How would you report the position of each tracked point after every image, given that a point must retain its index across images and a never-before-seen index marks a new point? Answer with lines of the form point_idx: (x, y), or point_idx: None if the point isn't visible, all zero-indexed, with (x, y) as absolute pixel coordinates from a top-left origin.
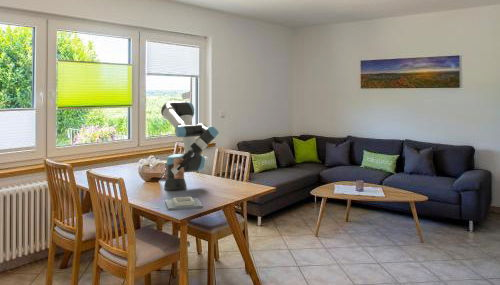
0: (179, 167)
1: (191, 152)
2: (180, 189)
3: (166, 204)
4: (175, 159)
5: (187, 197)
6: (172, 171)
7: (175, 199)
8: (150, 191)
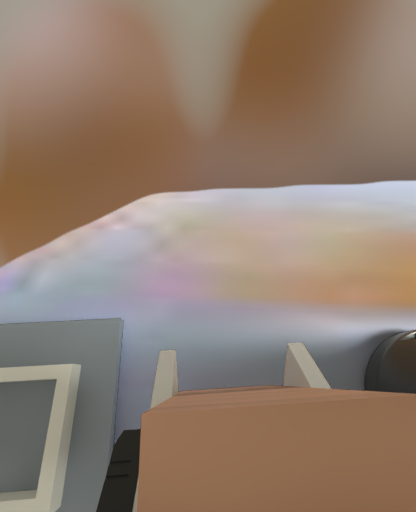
0: (103, 501)
1: None
2: None
3: (35, 322)
4: (240, 446)
5: (40, 478)
6: (169, 356)
7: (23, 376)
8: (347, 258)
